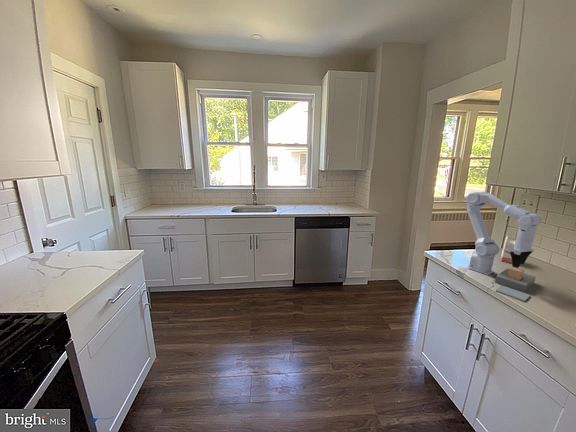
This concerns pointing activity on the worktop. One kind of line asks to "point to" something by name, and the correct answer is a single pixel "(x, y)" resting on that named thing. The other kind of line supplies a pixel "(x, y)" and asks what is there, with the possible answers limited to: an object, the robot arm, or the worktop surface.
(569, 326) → the worktop surface
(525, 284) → the plate
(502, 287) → the mat
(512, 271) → the plug
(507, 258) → the ink cartridge box
